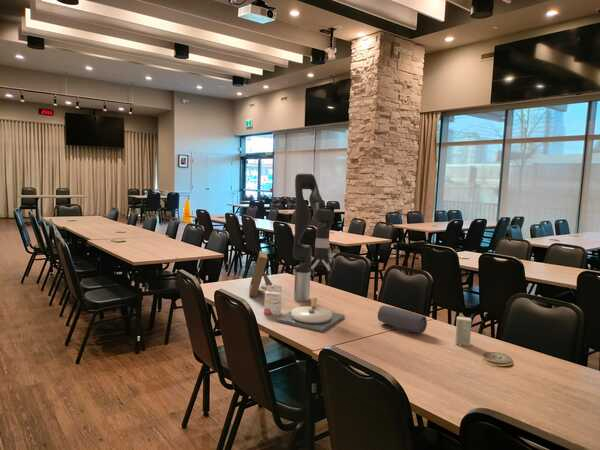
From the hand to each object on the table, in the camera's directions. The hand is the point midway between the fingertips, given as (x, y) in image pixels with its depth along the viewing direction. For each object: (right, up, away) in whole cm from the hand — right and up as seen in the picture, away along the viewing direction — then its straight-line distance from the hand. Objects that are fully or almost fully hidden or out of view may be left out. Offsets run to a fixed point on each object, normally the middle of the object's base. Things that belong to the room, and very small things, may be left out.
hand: (320, 276), depth 224 cm
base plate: (-5, -21, -8) cm, 23 cm away
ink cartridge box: (-26, -20, 0) cm, 32 cm away
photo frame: (-36, -15, +39) cm, 55 cm away
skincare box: (+63, -27, -34) cm, 76 cm away
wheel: (-5, -19, -8) cm, 22 cm away
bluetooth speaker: (+39, -24, -17) cm, 49 cm away
